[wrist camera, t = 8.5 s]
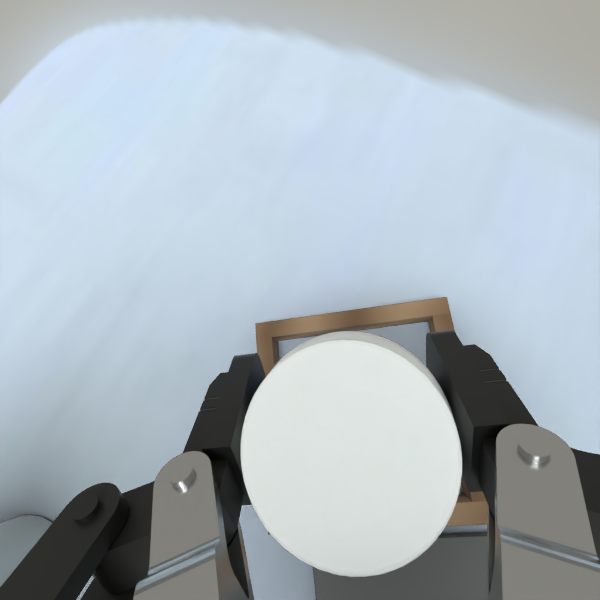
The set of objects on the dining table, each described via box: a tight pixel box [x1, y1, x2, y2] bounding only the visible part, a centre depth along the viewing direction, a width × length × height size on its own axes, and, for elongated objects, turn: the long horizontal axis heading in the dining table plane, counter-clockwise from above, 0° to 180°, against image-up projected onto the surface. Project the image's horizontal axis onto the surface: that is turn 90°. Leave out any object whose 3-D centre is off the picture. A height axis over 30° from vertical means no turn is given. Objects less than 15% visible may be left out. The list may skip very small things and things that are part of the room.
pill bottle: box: [241, 331, 462, 577], centre depth 10 cm, size 5×5×9 cm
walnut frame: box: [255, 297, 488, 534], centre depth 24 cm, size 14×14×2 cm
